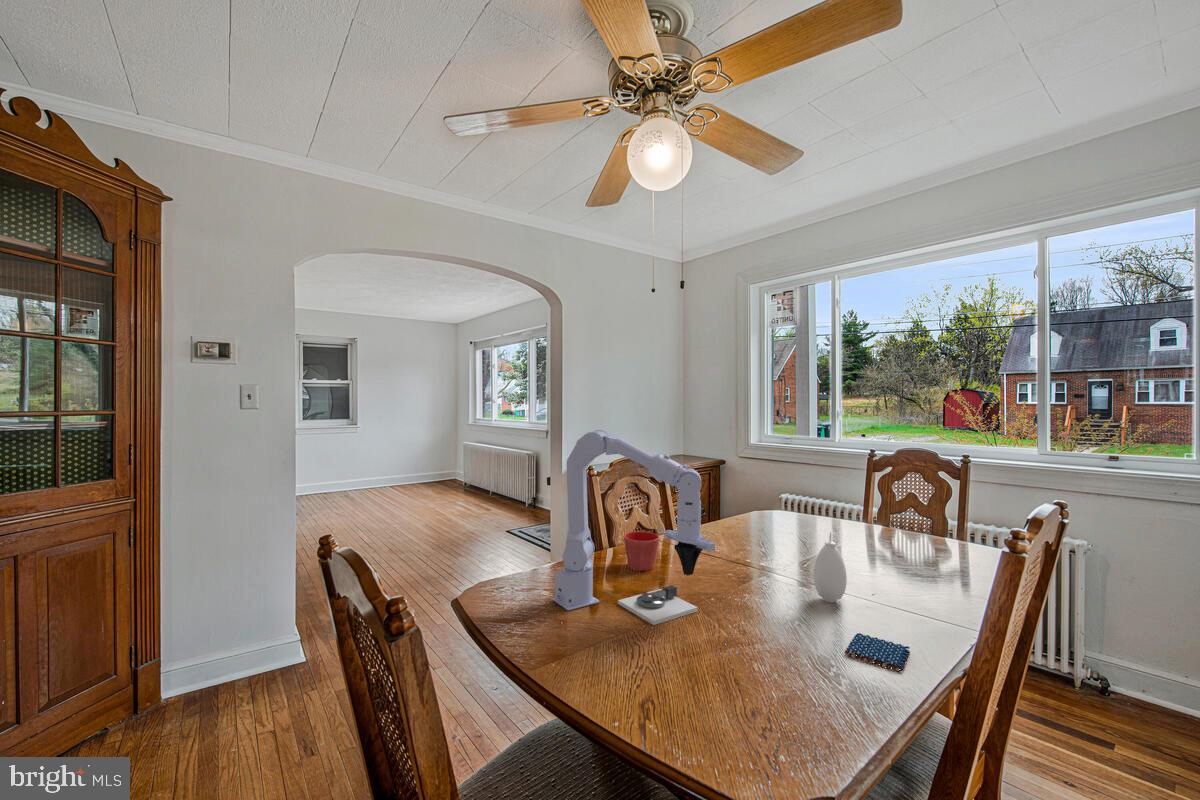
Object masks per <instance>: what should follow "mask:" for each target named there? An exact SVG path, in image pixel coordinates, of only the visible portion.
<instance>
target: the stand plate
mask: <svg viewBox="0 0 1200 800" xmlns="http://www.w3.org/2000/svg"><path fill="white" fill-rule="evenodd" d="M659 590H662V589H660V588H659V589H655V590H652V591H651V590H650V591H648V592H646V593H652V592H655V591H659ZM642 594H643V593H640V594H636V595H633V596H630V597H628V596H627V597H625V598H622V599H618V600H617V605H619V606H620V607H623V608H624V609H626V610H627V611H629V612H630V613H633V614H634V615H636V616H637V617H639V618H641V619H642V620H643V621H645V622H648V623H649V624H651V625H652V626H656V625H659V624H662V623H665V622H667V621H671V620H674V619H678V618H681V617H684V616H688V615H690V614H693V613H697V612H699V611H698V609H699V607H698V606H696V605H694V604H691V603H690V602H688V601H686V600H684V599H682V598H680V597H677V596H676V597H672V598H669V599H668V598H666V597H664V596H663V597H662V598H664V599H665V604H664V605H663V606H662V607H659V608H646V607H642V606H640V605H638V604H637V598H638V597H639V596H641V595H642Z"/></svg>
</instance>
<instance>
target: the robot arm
mask: <svg viewBox="0 0 1200 800" xmlns="http://www.w3.org/2000/svg"><path fill="white" fill-rule="evenodd" d="M604 453H605V456H608V455H609V456H611V455H620V456H623V457H624V458H626V459H629V460H631V461H633V462H635V463H637V464H639V465H641V466H643V467H646V468H647V469H648V472H649V475H650V476H652V477H654V478H656V479H658V480H660V481H662V482H664V483H666V484H667V485H670V486H671V487H676V488H677V490H678V498H677V502H676V503H677V504H676V505H677V507H676V509H677V511H676V513H677V517H676V519H677V520H676V521H677V522H676V526H677V527H676V530H671V529H668V530H664V539H666V540H673V541H675V542H677V544H675V545H674V550H675V551H676V553H677V555H678V558H679V561H680V564H681V567H682V571H683V575H685V576H691V575H693V574H694V571H695V567H696V564H697V561H698V558H699V556H700V554H702V551H703V550H704V551H706V552H708V553H711V552H715V551H716V543H715V541H711V540H709V539H707V538H705V537H703V535H702V534H701V532H702V531H701V530H702V527H701V526H702V525H701V523H702V501H701V489H702V485H703V484H702V478H701V475H700V474H699V472H698V471H697V470H695V469H694V468H693V467H688V465H687V464H680V463H679V462H677V461H676V460H673V459H671V457H670V455H669V454H667V453H665V454H664V455H663V454H661V453H660V454H656V455H653V454H650V453H648V452H647V451H644V450H643V449H641V448H640V447H637V446H636V445H634V444H632V443H631V442H628V441H627V440H625V439H623V438H622V437H619V436H617V435H615V434H612V433H607V432H606V431H605V430H601V429H596V430H593V431H591V432H587V433H585V434H584V435H582V436H581V437H580V438H579V439H577V441H576V443H575V445H574V447H573V449H572V450H571V452H570V454H569V455H568V458H567V459H566V483H567V484H566V488H567V517H568V532H567V535H566V538H565V548H564V550H563V552H562V553H563V554H562V561H563V564H564V567H563V568H561V569H559V570H557V571H556V572H555V574H554V582H553V583H554V585H553V586H554V587H553V588H554V589H553V591H554V596H553V598H552V600H553V602H555V603H557V604H558V605H559V606H561V607H562V608H564V609H565V610H566V611H573V610H575V609H576V610H577V609H580V608H582V607H587V606H591V605H595V604H598V603H600V600H599V599H597V598H596V597H594V596H593V594H594V589H593V588H594V586H593V585H594V584H593V583H594V580H593V579H594V564H593V561H592V560H591V559H592V558H591V557H592V556H593V555H594V553H595V550H596V549H595V544H594V542H593V540H592V537H591V534H592V533H591V529H590V528H589V511H588V481H587V479H588V478H587V476H588V475H587V467H588V466H589V465H590V464H591V463H592V462H593V461H594V460H595V458H597V457H600V456H601V455H603V454H604Z"/></svg>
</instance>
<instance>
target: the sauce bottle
mask: <svg viewBox="0 0 1200 800" xmlns="http://www.w3.org/2000/svg"><path fill="white" fill-rule="evenodd" d="M828 539H829V540H828V541H825V542H824V545H823V546H822V547H821V549H820V550H819V552H818V554H817V556H816V558H815V560H814V561H815V562H814V566H813V577H812V578H813V584H814V587H815V590H816V592H817V594H818V596H819V597H820V598H821V599H822V600H823V601H825V602H827V603H829V604H830V603H831V604H833V603H836V602H838V600H841V598H842V597H843V596H844V594H845V591H846V588H847V582H848V581H847V580H848V579H847V577H848V576H847V568H846V565H845V562H844V558H843V556H842V554H841V552H840V551H839V548H838V547H837V546H836V545H837V543H836V542H834V541H832V532H829V538H828Z"/></svg>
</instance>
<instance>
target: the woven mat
mask: <svg viewBox="0 0 1200 800" xmlns="http://www.w3.org/2000/svg"><path fill="white" fill-rule="evenodd" d="M910 648H911V647H910V646H907V645H905V646H904V645H903V644H901V643H894V642H893V641H888V640H885V639H883V638H882V639H881V638H878V637H874V636H872V637H871V636H870V635H869V634H863V633H861V632H858V633H856V634H855V635H854V637H853V638H852V639H851V640H850V642H849V644H848V647H846V648H845V650H844V653H845V657H846V656H847V658H849V657H851V658H852V659H857V661H859V660H861V661H862V659H863V662H864V661H865V662H864V663H868V662H869V663H870V662H871V663H873V662H874V663H875V664H876V666H878V665H879V664H880V666H881V665H882V666H881V667H882V668H884V667H886V668H889V667H890V669H891V667H892V669H895V671H896V672H897V671H899V669H900V671H903V670H904V667H905V665H906V663H907V660H908V657H909V656H910V654H911V651H910ZM856 655H857V656H856ZM867 660H868V661H867ZM905 662H906V663H905ZM871 663H870V664H871ZM892 669H891V670H892Z"/></svg>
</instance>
